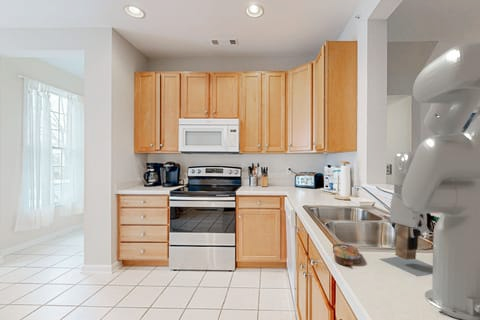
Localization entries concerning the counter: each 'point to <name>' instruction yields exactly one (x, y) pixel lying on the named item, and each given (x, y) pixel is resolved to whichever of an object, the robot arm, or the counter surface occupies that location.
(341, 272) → the counter surface
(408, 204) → the robot arm
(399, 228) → the block
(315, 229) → the counter surface
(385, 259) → the mat
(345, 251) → the tin
